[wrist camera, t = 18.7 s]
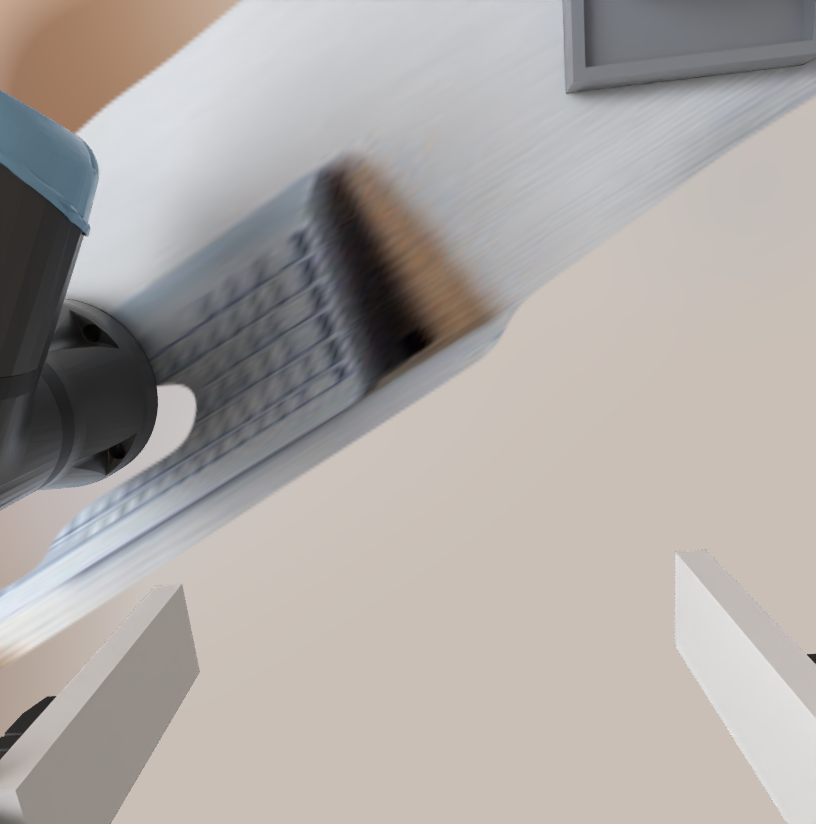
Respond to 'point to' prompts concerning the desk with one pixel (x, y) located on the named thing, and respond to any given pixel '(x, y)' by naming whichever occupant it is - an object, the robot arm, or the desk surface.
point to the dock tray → (681, 39)
